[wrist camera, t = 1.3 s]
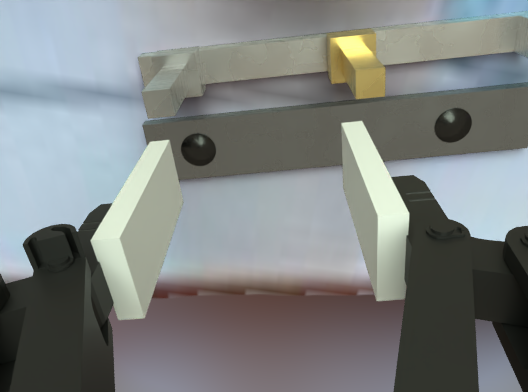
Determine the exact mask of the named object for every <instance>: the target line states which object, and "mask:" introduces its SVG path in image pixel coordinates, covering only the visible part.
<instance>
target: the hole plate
mask: <svg viewBox="0 0 528 392" xmlns="http://www.w3.org/2000/svg"><path fill="white" fill-rule="evenodd" d="M356 121H362V122H363V124H364V126H365V128H366V130H367V132H368V133H369V135H370V137H371V139H372V141H373V143H374V145H375V147H376V149H377V151H378V153H379V155H380V157H381V159H382V161H390V160H401V159H412V158H422V157H433V156H444V155H455V154H466V153H477V152H488V151H499V150H509V149H520V148H527V147H528V82H527V83H517V84H507V85H498V86H488V87H478V88H468V89H458V90H448V91H438V92H428V93H418V94H408V95H398V96H388V97H378V98H368V99H359V100H349V101H339V102H329V103H319V104H309V105H299V106H289V107H279V108H269V109H259V110H249V111H239V112H229V113H220V114H210V115H200V116H190V117H180V118H170V119H160V120H150V121H145V122H144V124H143V129H144V133H145V137H146V141H147V145H148V144H149V142H153V141H163V140H170V144H171V149H172V153H173V158H174V162H175V167H176V171H177V175H178V180H183V179H194V178H205V177H216V176H227V175H238V174H248V173H259V172H270V171H281V170H292V169H303V168H314V167H325V166H335V165H343V162H342V127H341V123H346V122H356Z"/></svg>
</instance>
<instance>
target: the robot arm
mask: <svg viewBox="0 0 528 392" xmlns="http://www.w3.org/2000/svg"><path fill="white" fill-rule="evenodd" d="M341 127H342V162H343V189H344V192H345V196H346V199H347V202H348V206H349V209H350V212H351V216H352V219H353V223H354V226H355V229H356V233H357V236H358V240H359V243H360V246H361V250H362V253H363V256H364V260H365V263H366V267H367V270H368V273H369V277H370V280H371V283H372V287H373V290H374V294H375V297H376V300H377V301H385V300H398V299H405V306H404V314H403V321H402V329H401V338H400V345H399V353H398V361H397V369H396V377H395V386H394V392H479V386H478V367H477V350H476V331H475V319H481V320H487V321H492V324H493V326H494V328H495V331H496V333H497V335H498V337H499V340H500V342H501V344H502V346H503V348H504V351H505V353H506V355H507V357H508V360H509V362H510V364H511V366H512V368H513V371H514V373H515V375H516V377H517V380H518V382H519V384H520V386H521V388H522V391H523V392H528V226H522V227H516V228H514V229H512V230H510V231H509V232H508V233H507V235H506V238H505V242H502V241H492V240H484V239H478V238H474V237H471V236H470V233H469V230H468V229H467V228H466V227H465V226H464V225H462V224H461V223H458V222H456V221H454V220H449V219H448V218H447V216H446V215H445V213H444V212H443V210H442V208H441V207H440V205H439V204H438V202H437V201H436V199H435V198H434V196H433V194H432V193H431V192H430V190H429V188H428V187H427V185H426V184H425V182H424V181H422V180H420V179H419V178H417V177H415V176H414V175H410V176H399V177H390V175H389V173H388V171H387V169H386V167H385V165H384V163H383V161H382V159H381V157H380V155H379V153H378V151H377V149H376V147H375V145H374V143H373V141H372V139H371V137H370V135H369V133H368V132H367V130H366V128H365V126H364V124H363V122H362V121H356V122H346V123H341ZM182 205H183V198H182V193H181V189H180V184H179V180H178V175H177V171H176V167H175V162H174V158H173V153H172V149H171V144H170V140H163V141H153V142H149V144H148V146H147V147H146V149H145V151H144V152H143V154H142V156H141V157H140V159H139V161H138V162H137V164H136V166H135V167H134V169H133V171H132V172H131V174H130V176H129V177H128V179H127V181H126V182H125V184H124V186H123V187H122V189H121V191H120V192H119V194H118V196H117V197H116V199H115V201H114V202H113V203H112V204H101V205H100V206H98V207H97V208H96V209H94V210H93V211H92V212H90V213H89V215H88V216H87V218H86V219H85V221H84V222H83V223H84V224H82V225H81V227H80V228H79V232H77V231H76V229H75V227H74V226H72V225H69V224H59V225H52V226H49V227H46V228H43V229H41V230H39V231H37V232H35V233H33V234H32V235H30V236H29V237H28V238H27V239H26V240H25V241H24V243H23V247H24V249H25V252H26V254H27V256H28V259H29V261H30V263H31V265H32V268H33V270H34V272H33V276H32V277H29V278H26V279H22V280H18V281H15V282H11V283H7V284H5V282H4V280H3V278H2V276H1V274H0V392H115V383H114V357H113V335H112V327H111V324H110V322H109V319H108V316H109V313H110V311H111V309H112V306H114V309H115V312H116V314H117V317H118V320H126V319H140V318H145V316H146V313H147V310H148V307H149V304H150V301H151V298H152V295H153V292H154V289H155V286H156V283H157V280H158V277H159V274H160V271H161V268H162V265H163V262H164V259H165V256H166V253H167V250H168V247H169V244H170V241H171V238H172V235H173V232H174V229H175V226H176V223H177V220H178V217H179V214H180V211H181V208H182ZM406 285H407V290H406V298H405V288H406Z"/></svg>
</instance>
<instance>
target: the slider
mask: <svg viewBox="0 0 528 392" xmlns="http://www.w3.org/2000/svg"><path fill="white" fill-rule="evenodd" d="M327 55H328V77H329V79H330V81H331V84H335V83H345V82H347V83H348V85H349V87H350V89H351V91H352V93H353V95H354V96H355V98H356V99H364V98H374V97H384V96H385V67H384V65H383V64H382V63H381V62H380V61H379V60H378V59H377V58H376V33H375V32H374V31H373V30H372V29H371V28H368V29H359V30H350V31H341V32H332V33H327Z"/></svg>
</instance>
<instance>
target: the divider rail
mask: <svg viewBox="0 0 528 392" xmlns="http://www.w3.org/2000/svg"><path fill="white" fill-rule="evenodd" d="M371 29H372V30H373V31H374V32H375V33H376V58H377V59H378V60H379V61H380V62H381V63H382V64H383V65H391V64H401V63H410V62H420V61H429V60H439V59H448V58H458V57H467V56H477V55H486V54H496V53H505V52H516V53H518V54H520V55H522V56H524V57H527V58H528V11H522V12H513V13H504V14H495V15H486V16H477V17H468V18H459V19H449V20H440V21H431V22H422V23H413V24H404V25H395V26H386V27H377V28H371ZM138 61H139V65H140V69H141V73H142V78H143V82H144V86H145V88H144V89H143V91H142V96H143V100H144V104H145V108H146V112H147V116H148V119H149V118H159V117H169V116H175V115H176V113H177V111H178V109H179V108H180V106H181V104H182V102H183V100H184V99H185V98H188V97H198V96H203V93H204V91H205V89H206V86H205V84H210V83H220V82H229V81H239V80H248V79H258V78H267V77H277V76H287V75H296V74H306V73H315V72H325V71H328V55H327V33H323V34H313V35H304V36H295V37H286V38H277V39H268V40H259V41H250V42H241V43H232V44H223V45H214V46H205V47H199V46H198V47H189V48H180V49H171V50H162V51H157V52H150V53H142V54H141V55H140V56H139V57H138Z"/></svg>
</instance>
